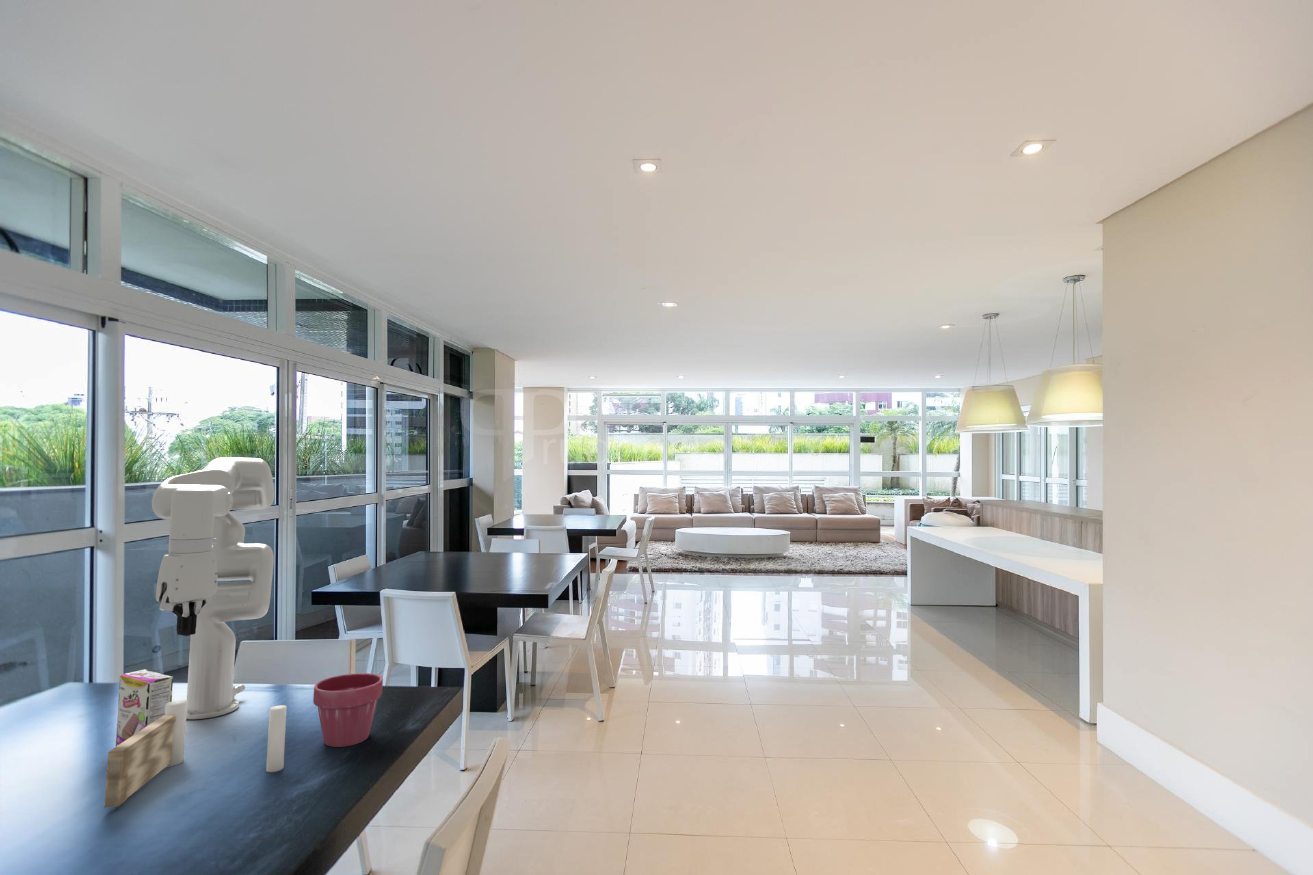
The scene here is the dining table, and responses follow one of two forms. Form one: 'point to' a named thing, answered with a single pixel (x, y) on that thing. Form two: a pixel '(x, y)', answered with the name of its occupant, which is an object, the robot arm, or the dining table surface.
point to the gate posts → (274, 734)
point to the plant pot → (347, 707)
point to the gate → (138, 760)
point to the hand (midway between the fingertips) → (186, 634)
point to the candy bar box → (141, 701)
